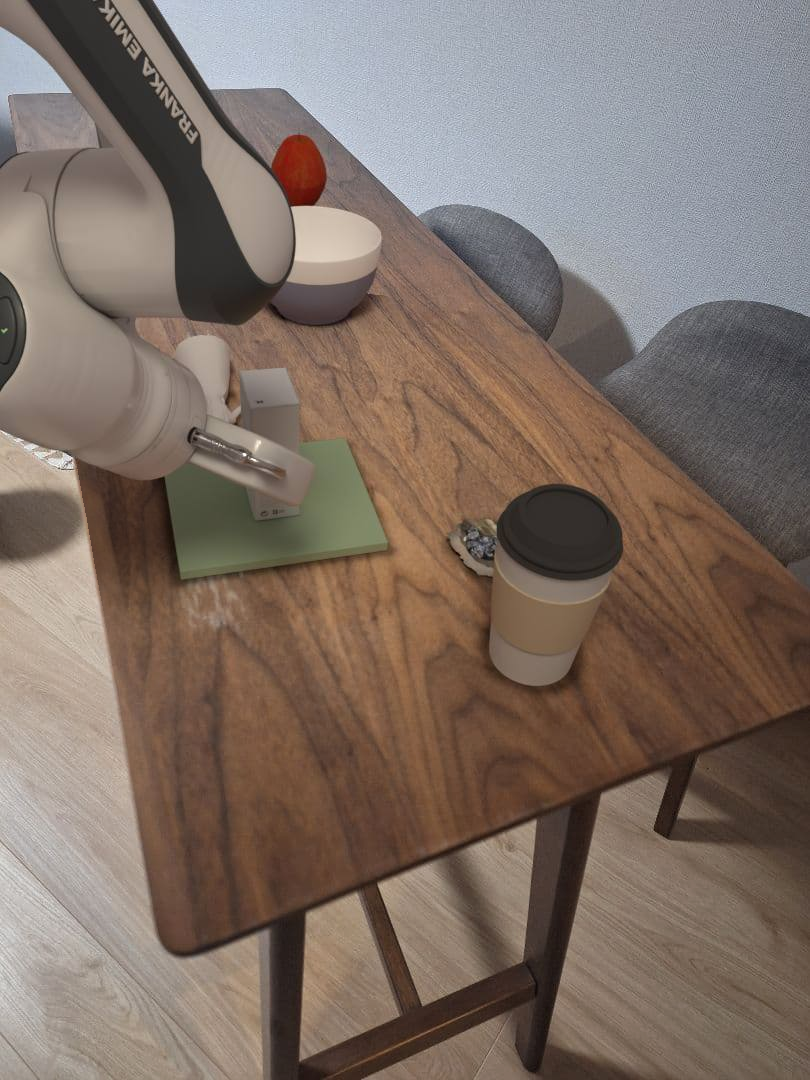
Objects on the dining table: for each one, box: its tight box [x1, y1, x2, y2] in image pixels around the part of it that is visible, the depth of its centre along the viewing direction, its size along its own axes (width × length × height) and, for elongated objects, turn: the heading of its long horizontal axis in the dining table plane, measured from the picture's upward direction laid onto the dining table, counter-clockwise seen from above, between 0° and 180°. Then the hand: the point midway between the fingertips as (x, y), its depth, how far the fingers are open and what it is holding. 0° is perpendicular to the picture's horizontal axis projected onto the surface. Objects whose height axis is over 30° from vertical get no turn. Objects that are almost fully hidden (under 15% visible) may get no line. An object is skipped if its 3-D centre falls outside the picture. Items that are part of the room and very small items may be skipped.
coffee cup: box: [488, 483, 624, 687], centre depth 68 cm, size 9×9×15 cm
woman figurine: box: [172, 330, 241, 425], centre depth 95 cm, size 12×4×18 cm
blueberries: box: [445, 517, 498, 577], centre depth 81 cm, size 7×8×2 cm
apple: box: [270, 132, 328, 207], centre depth 132 cm, size 8×8×11 cm
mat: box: [163, 437, 389, 581], centre depth 84 cm, size 18×16×1 cm
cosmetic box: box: [239, 366, 301, 521], centre depth 80 cm, size 6×4×12 cm
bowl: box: [269, 205, 383, 326], centre depth 110 cm, size 16×16×10 cm
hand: (231, 457), depth 75 cm, fingers open, 8 cm apart
